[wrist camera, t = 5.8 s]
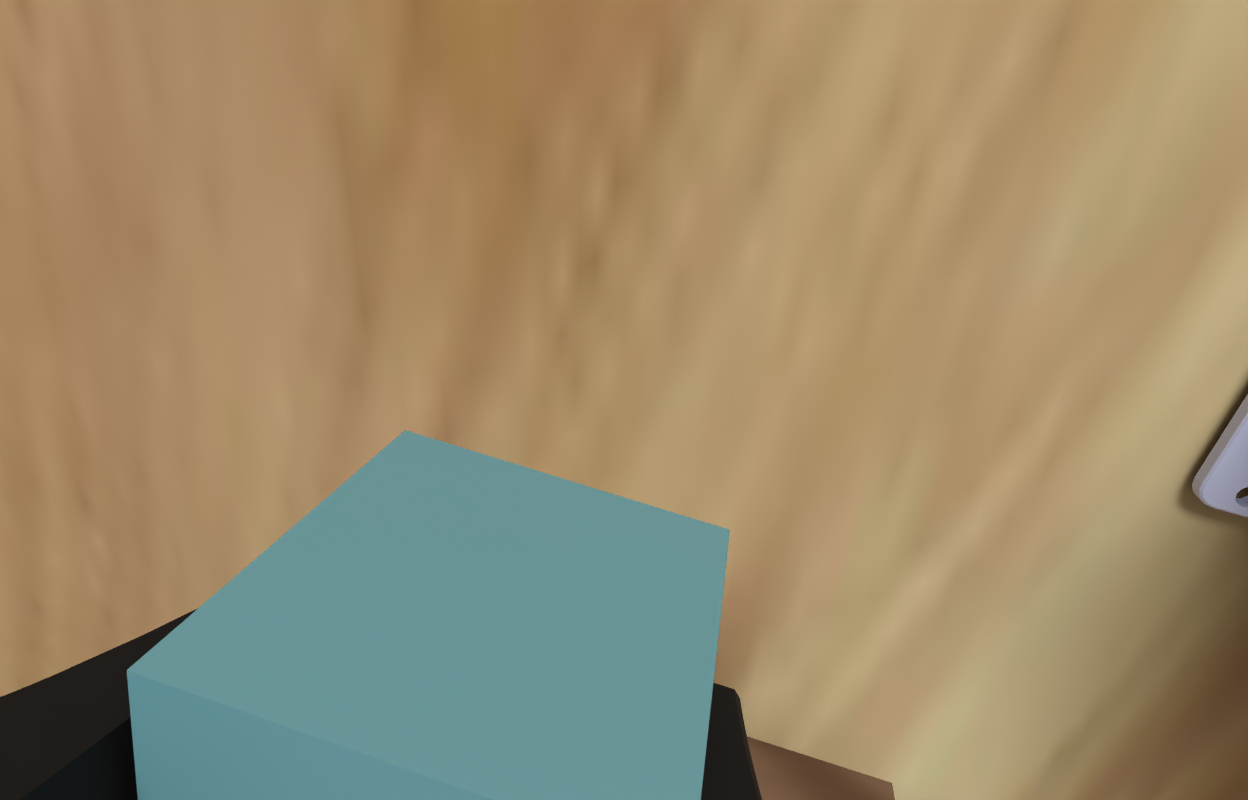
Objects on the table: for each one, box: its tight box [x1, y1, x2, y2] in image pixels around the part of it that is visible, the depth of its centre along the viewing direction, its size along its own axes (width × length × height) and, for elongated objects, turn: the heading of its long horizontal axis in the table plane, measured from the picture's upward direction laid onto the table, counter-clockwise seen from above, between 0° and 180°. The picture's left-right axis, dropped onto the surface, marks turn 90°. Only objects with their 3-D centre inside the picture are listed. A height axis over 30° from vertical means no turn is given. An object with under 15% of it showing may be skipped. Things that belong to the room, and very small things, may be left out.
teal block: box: [127, 430, 730, 800], centre depth 9 cm, size 5×5×5 cm
